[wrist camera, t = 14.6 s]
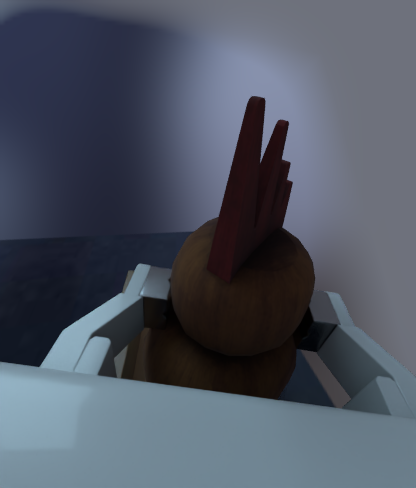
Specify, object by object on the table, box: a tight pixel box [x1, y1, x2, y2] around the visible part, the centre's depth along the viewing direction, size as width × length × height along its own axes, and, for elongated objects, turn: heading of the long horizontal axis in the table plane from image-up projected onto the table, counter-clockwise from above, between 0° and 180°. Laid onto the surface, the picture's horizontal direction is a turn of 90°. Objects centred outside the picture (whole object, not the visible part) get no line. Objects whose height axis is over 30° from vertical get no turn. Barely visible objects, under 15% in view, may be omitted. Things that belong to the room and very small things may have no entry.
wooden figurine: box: [143, 96, 315, 400], centre depth 10 cm, size 7×6×15 cm
